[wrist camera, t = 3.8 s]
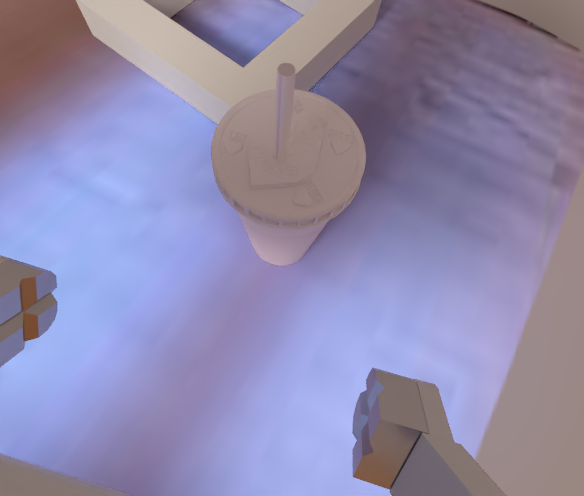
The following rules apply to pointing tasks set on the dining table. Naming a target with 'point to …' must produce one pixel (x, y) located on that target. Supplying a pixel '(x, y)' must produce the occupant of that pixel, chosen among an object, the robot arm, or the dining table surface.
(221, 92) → the beige square frame
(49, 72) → the dining table surface
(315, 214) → the smoothie
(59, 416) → the dining table surface
